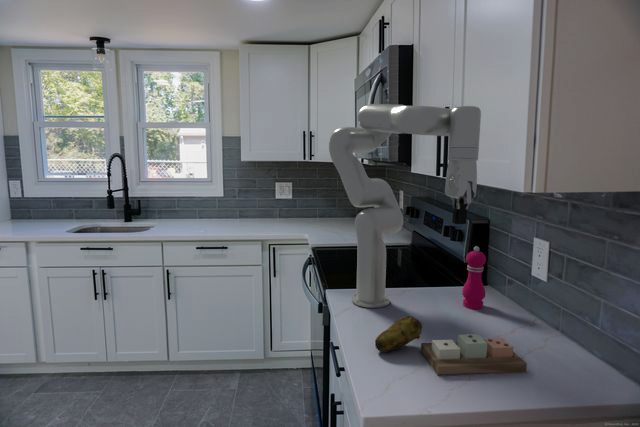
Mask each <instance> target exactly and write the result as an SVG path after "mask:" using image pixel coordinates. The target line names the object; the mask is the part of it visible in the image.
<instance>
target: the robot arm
mask: <svg viewBox="0 0 640 427" xmlns="http://www.w3.org/2000/svg"><path fill="white" fill-rule="evenodd" d="M481 119H482V110H481V108H480V107H477V106H474V105H462V106H460V105H459V106H455V107H453V108H446V107H438V106H429V105H404V104H390V103H388V104H387V103H386V104H385V103H369V104H366V105H364V106H362V107H361V108H360V110H359V111H358V113H357V122H358V124H359V126H360V127H353V126H345V127H339V128H337V129H336V130H335V131H333V132H332V133H331V135H330V137H329V142H328V152H329V156H330V158H331V161H332V163H333V166H335V169H336V170H337V172H338V174H339V176H340V179H341V182H342V185H343V187H344V190H345V192H346V194H347V198H348V199H349V200H348V201H350V203H351V205H352V206H354V207H356V208H366V209H363V210H361V211H360V212H358V213H357V215H356V216H355V219H354V229H355V233H356V241H357V243H356V245H357V246H356V247H357V249H356V250H357V251H356V252H357V255H356V256H357V258H356V260H357V261H356V262H357V263H356V264H357V265H356V293H355V294H353V295H352V296H351V303H353V304H354V305H356V306H359V307H363V308H370V309H377V308H378V309H379V308H383V307H386V306H388V305H389V304H390V298H389V297H388V296H387V295H386V277H387V275H386V274H387V272H386V271H387V247H386V244H385V241H384V238H383V237H384V236H390V235H395V234H397V233H399V232H400V231H401V230H402V229H403V226H404V216H403V212H402V210H401V208H400V205H399V203H398V201H397V197H396V196H395V194H394V191H393V189H392V187H391V186H390V184H389V183H388V182H387V181H386V180H384V179H382V178H377V177H376V178H370V177H368V175H367V172H366V170H365V167H364V166H363V164H362V162H361V161H360V160H359V159H358V158H357V157H356V156H355V154H356V153H359V154H360V153H361V154H362V153H363V154H365V153H367V154H368V153H372V152H374V151H375V150H377V149H378V148H379V147H380V146H381V145H382V144H383V143H384V142H385V141H386V140H387V139H388V138H389V137H390V136H391V135H392V134H397V135H399V134H408V135H409V134H410V135H420V136H437V137H449V138H448V154H447V160H448V162H447V169H446V175H445V186H444V194H445V196H446V197H448V198H449V197H450V200H452V221H451V222H452V224H454V225H465V224H467V217H468V216H467V214H468V209H469V205H470V204H472V199H474V198H475V197H476V195H477V188H478V187H477V184H478V171H477V170H478V165H477V164H478V163H477V162H478V161H479V150H480V149H479V148H480V134H481ZM368 207H371V208H368ZM372 207H373V208H372Z"/></svg>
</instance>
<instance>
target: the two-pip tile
mask: <svg viewBox="0 0 640 427" xmlns="http://www.w3.org/2000/svg"><path fill="white" fill-rule="evenodd" d="M483 339H484V338H482V337H481V335H479V334H478V333H474V334H472V333H471V334H469V333H468V334H457V342H458V345H457V346H458V347H459V348H460V354H461V355H462V356H463V357H464V358H465V359H473V358H486V355H487V342H485V341H484V340H483Z"/></svg>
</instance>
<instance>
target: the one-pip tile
mask: <svg viewBox="0 0 640 427" xmlns="http://www.w3.org/2000/svg"><path fill="white" fill-rule="evenodd" d="M431 342H432V352H433V354H434V355H435V356H436V358H437V359H438V360H444V359H460V348H459V347H458V346H457V345H456V344H455V343H454V342H455V341H454V340H453V339H432V340H431Z"/></svg>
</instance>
